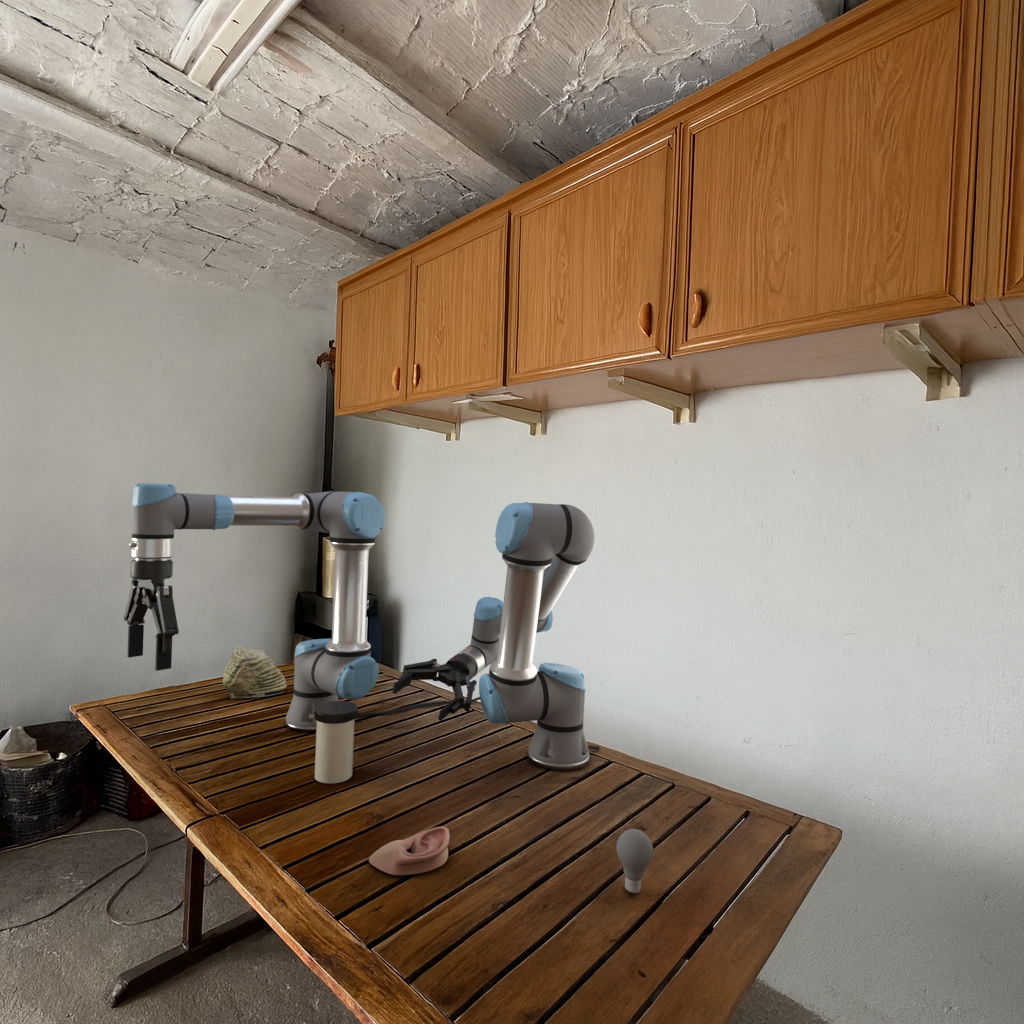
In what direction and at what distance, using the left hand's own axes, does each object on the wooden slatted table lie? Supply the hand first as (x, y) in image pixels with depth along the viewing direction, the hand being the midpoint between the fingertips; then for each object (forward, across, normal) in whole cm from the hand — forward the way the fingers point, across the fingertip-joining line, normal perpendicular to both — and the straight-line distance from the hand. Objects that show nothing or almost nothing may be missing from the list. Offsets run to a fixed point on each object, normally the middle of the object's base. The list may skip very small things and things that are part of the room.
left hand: (148, 662), depth 129 cm
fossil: (+28, -47, +50) cm, 74 cm away
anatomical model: (+28, +56, +22) cm, 66 cm away
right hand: (+12, +29, +48) cm, 57 cm away
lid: (+13, +18, +33) cm, 40 cm away
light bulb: (+28, +90, +41) cm, 103 cm away
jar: (+28, +18, +33) cm, 47 cm away
